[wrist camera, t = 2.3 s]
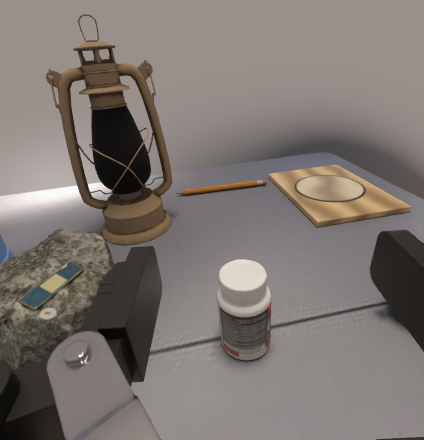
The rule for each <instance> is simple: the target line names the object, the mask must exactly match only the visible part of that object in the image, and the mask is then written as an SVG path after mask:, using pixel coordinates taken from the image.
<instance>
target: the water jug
mask: <svg viewBox="0 0 424 440" xmlns="http://www.w3.org/2000/svg"><path fill="white" fill-rule="evenodd" d="M10 258H13V256H12V254H11V252H10V250H9V248H8V246H7V245H6V244H5V243H4V241H3V239H2V237H1V236H0V263H2V262H4V261H6V260H8V259H10Z"/></svg>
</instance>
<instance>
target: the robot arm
mask: <svg viewBox="0 0 424 440" xmlns="http://www.w3.org/2000/svg"><path fill="white" fill-rule="evenodd" d="M370 274H371V278H372V281H373V283H374V284H375V286H376V287H377V288H378V290H379V291H380V293H381V294H382V295H383V297H384V298H385V299H386V301H387V302H388V304H389V305H390V306H391V308H392V309H393V310H394V312H395V313H396V314H397V316H398V317H399V319H400V320H401V321H402V323H403V324H404V325H405V327H406V328H407V330H408V331H409V332H410V334H411V335H412V336H413V338H414V339H415V340H416V342H417V343H418V345H419V346H420V347H421V349H422V350H423V351H424V243H422V242H421V241H419V240H418V239H417V238H416V237H415V236H414V235H412V234H411V233H410V232H409V231H407V230H396V231H382V232H381V233H380V234H379V235H378V238H377V242H376V246H375V250H374V254H373V258H372V262H371V266H370ZM161 293H162V283H161V276H160V272H159V267H158V262H157V258H156V253H155V249H154V247H153V246H149V247H134V248H131V250H130V252H129V254H128V257H127V259H126V261H125V262H118V263H116V264H115V265H114V266H113V267H112V268H111V269H110V270H109V271H108V272H107V274H106V276H105V278H104V280H103V282H102V286H100V288H99V290H98V292H97V295H96V297H95V299H94V301H93V303H92V305H91V307H90V309H89V311H88V313H87V315H86V317H85V319H84V321H83V324H82V326H81V328H80V330H79V332H78V333H77V334H74V335H72V336H70V337H69V338H67V339H65V340H64V341H63V342H61V343H60V344H59V345H58V346H57V347H56V348H55V349H54V351H53V352H52V354H51V355H50V357H49V358H48V359H45V360H42V361H39V362H36V363H33V364H30V365H27V366H24V367H21V368H18V369H15V370H12V368H11V367H10V365H9V364H8V363H7V362H6V361H3V360H0V440H161V439H160V437H159V435H158V433H157V431H156V429H155V427H154V426H153V424H152V422H151V420H150V418H149V416H148V414H147V412H146V411H145V409H144V407H143V405H142V403H141V402H140V400H139V398H138V397H137V396H135V395H134V393H133V391H132V389H131V384H132V382H144V377H145V372H146V367H147V363H148V358H149V353H150V348H151V343H152V338H153V333H154V328H155V324H156V319H157V314H158V309H159V304H160V299H161ZM377 440H424V437H416V438H393V439H377Z"/></svg>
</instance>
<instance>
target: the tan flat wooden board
mask: <svg viewBox="0 0 424 440" xmlns="http://www.w3.org/2000/svg"><path fill="white" fill-rule="evenodd" d="M269 179H270V180H271V181H272V182H273V183H274V184H275V185H276V186H277V187H278V188H279V189H280V190H281V191H282V192H283V193H284V194H285V195H286V196H287V197H288V198H289V199H290V200H291V201H292V202H293V203H294V204H295V205H296V206H297V207H298V208H299V209H300V210H301V211H302V212H303V213H304V214H305V215H306V216H307V217H308V218H309V219H310V220H311V222H312V223H313V224H314V225H315V226H316V227H321V226H327V225H333V224H339V223H345V222H351V221H357V220H363V219H369V218H375V217H382V216H388V215H394V214H400V213H406V212H410V209H411V206H409V205H407V204H406V203H404V202H402V201H400V200H399V199H397V198H395V197H393V196H391V195H390V194H388V193H386V192H384V191H383V190H381V189H379V188H377V187H375V186H374V185H372V184H370V183H368V182H367V181H365V180H363V179H361V178H359V177H358V176H356V175H354V174H352V173H351V172H349V171H347V170H345V169H343V168H342V167H340V166H338V165H329V166H322V167H315V168H308V169H301V170H294V171H287V172H280V173H273V174H269Z"/></svg>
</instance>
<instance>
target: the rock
mask: <svg viewBox="0 0 424 440" xmlns="http://www.w3.org/2000/svg"><path fill="white" fill-rule="evenodd" d="M113 266H114V263H113V260H112V256H111V252H110V250H109V248H108V245H107V243H106V242H105V240H104V238H103V237H101V235H100V234H95V233H93V234H92V233H91V232H88V233H81V232H79V231H76V232H71V231H66V230H62V229H60V230H56V231H54V232H53V233H52V234H51V235H49V236H48V238H47V239H46V240H45V241H43V242H40V243H39V245H38V246H37V247H35V248H33V249H31V250H28V251H26V252H23V253H21V254H20V255H18V256H15V257H13V258H10V259H8V260H6V261H4V262H2V263H0V360H3V361H6V362H7V363H8V364H9V365H10V367H11V368H12V370H15V369H18V368H21V367H24V366H27V365H30V364H33V363H36V362H39V361H42V360H45V359H48V358H49V357H50V355H51V354H52V352H53V351H54V349H55V348H56V347H57V346H58V345H59V344H60V343H61V342H63V341H64V340H65V339H67V338H69V337H70V336H72V335H74V334H77V333H78V332H79V330H80V328H81V326H82V324H83V321H84V319H85V317H86V315H87V313H88V311H89V309H90V307H91V305H92V303H93V301H94V299H95V297H96V295H97V292H98V290H99V288H100V286H102V282H103V280H104V278H105V276H106V274H107V272H108V271H109V270H110V269H111V268H112V267H113Z"/></svg>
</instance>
